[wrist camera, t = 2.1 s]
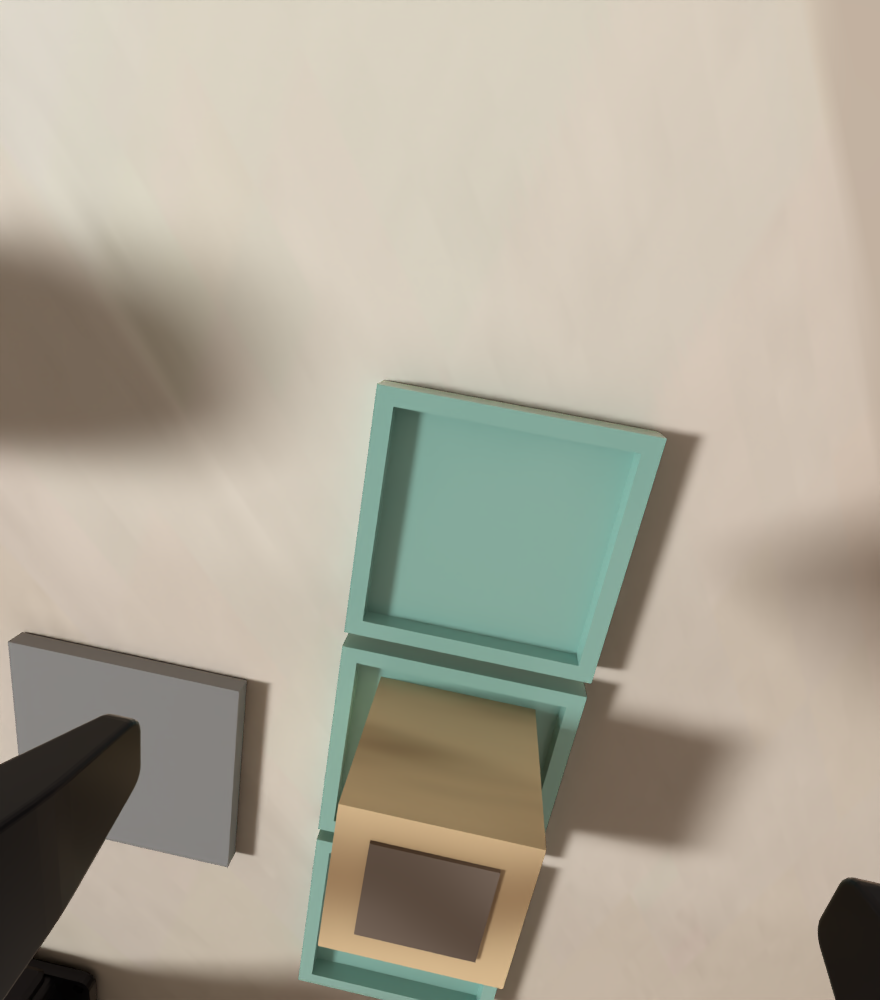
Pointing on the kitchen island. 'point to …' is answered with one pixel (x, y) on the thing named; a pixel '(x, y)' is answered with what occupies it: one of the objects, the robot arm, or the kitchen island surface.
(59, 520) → the kitchen island surface
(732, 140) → the kitchen island surface
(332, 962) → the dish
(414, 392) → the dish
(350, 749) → the dish middle
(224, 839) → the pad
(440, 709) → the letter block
